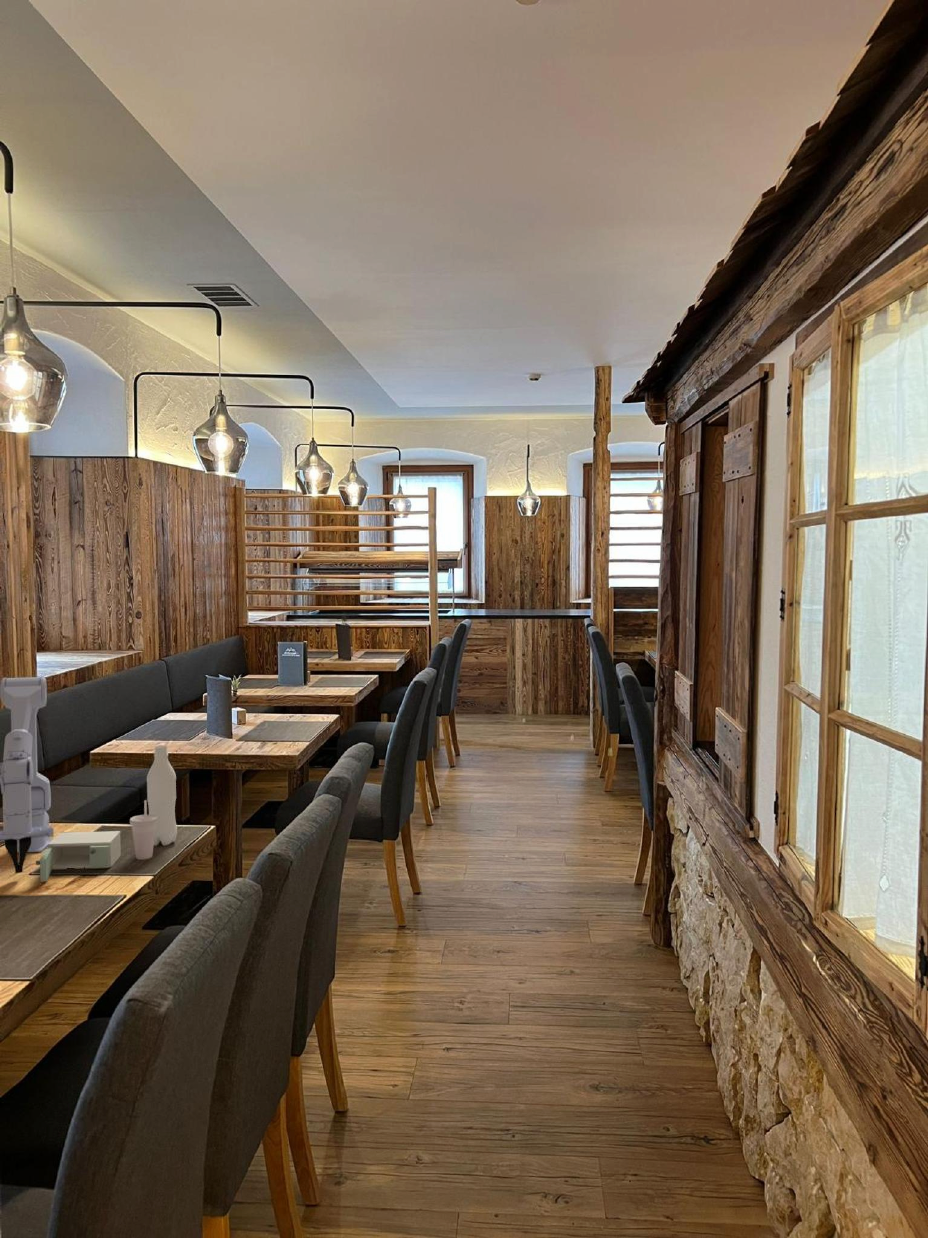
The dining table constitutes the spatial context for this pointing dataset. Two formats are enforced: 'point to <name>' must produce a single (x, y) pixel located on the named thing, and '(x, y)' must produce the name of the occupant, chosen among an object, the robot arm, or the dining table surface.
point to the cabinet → (85, 849)
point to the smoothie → (143, 833)
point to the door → (45, 864)
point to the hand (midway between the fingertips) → (18, 871)
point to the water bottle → (162, 796)
